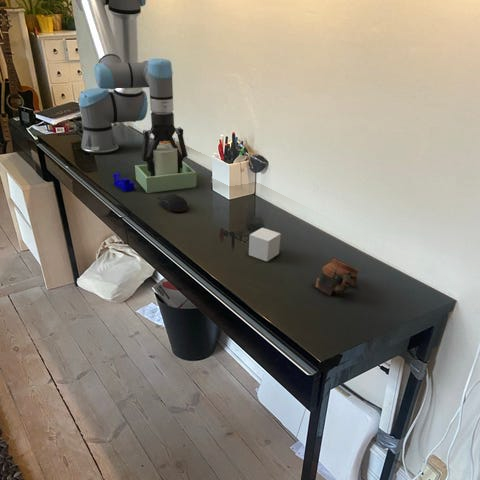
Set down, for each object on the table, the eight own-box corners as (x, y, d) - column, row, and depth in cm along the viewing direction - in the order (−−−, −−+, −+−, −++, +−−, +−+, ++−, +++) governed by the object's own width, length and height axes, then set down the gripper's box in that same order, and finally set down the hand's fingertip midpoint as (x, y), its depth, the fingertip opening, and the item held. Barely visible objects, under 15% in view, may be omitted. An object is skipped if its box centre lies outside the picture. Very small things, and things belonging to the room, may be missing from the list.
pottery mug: (307, 282, 122) (322, 252, 120) (337, 295, 125) (353, 266, 123) (325, 295, 111) (342, 263, 109) (358, 310, 114) (375, 278, 112)
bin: (136, 180, 177) (134, 165, 174) (183, 174, 184) (182, 160, 181) (147, 193, 167) (146, 177, 164) (196, 186, 174) (196, 172, 171)
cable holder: (134, 189, 169) (133, 178, 167) (125, 191, 167) (124, 180, 165) (123, 183, 174) (122, 172, 172) (114, 185, 172) (113, 174, 170)
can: (181, 177, 179) (179, 144, 172) (175, 186, 171) (174, 151, 164) (156, 175, 179) (154, 142, 172) (150, 184, 172) (147, 149, 165)
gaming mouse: (168, 196, 165) (168, 184, 163) (191, 210, 156) (191, 198, 153) (152, 200, 162) (151, 188, 160) (174, 214, 152) (174, 202, 150)
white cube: (260, 247, 136) (262, 227, 133) (279, 253, 133) (280, 233, 130) (248, 255, 132) (249, 234, 128) (266, 261, 129) (268, 241, 126)
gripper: (133, 116, 155) (139, 185, 168) (196, 112, 163) (197, 178, 176) (127, 111, 161) (133, 178, 173) (188, 107, 169) (190, 172, 181)
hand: (165, 178), depth 175 cm, fingers closed on can, 9 cm apart
